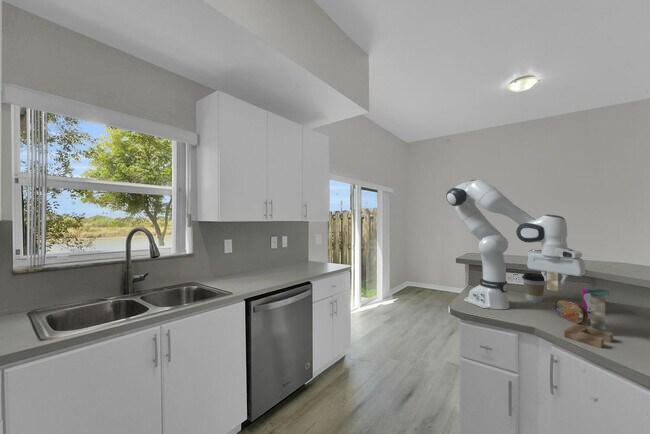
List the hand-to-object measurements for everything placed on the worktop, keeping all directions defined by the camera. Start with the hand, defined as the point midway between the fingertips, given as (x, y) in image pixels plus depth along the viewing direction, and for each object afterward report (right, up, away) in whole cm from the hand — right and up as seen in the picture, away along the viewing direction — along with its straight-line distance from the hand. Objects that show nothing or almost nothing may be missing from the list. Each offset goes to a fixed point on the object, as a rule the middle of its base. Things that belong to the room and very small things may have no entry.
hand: (554, 282), depth 122 cm
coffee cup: (+21, -20, +39) cm, 49 cm away
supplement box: (+35, -20, +20) cm, 45 cm away
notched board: (+5, -20, -11) cm, 24 cm away
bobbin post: (+14, -20, -5) cm, 25 cm away
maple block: (0, -3, 0) cm, 3 cm away
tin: (+15, -20, +9) cm, 27 cm away
